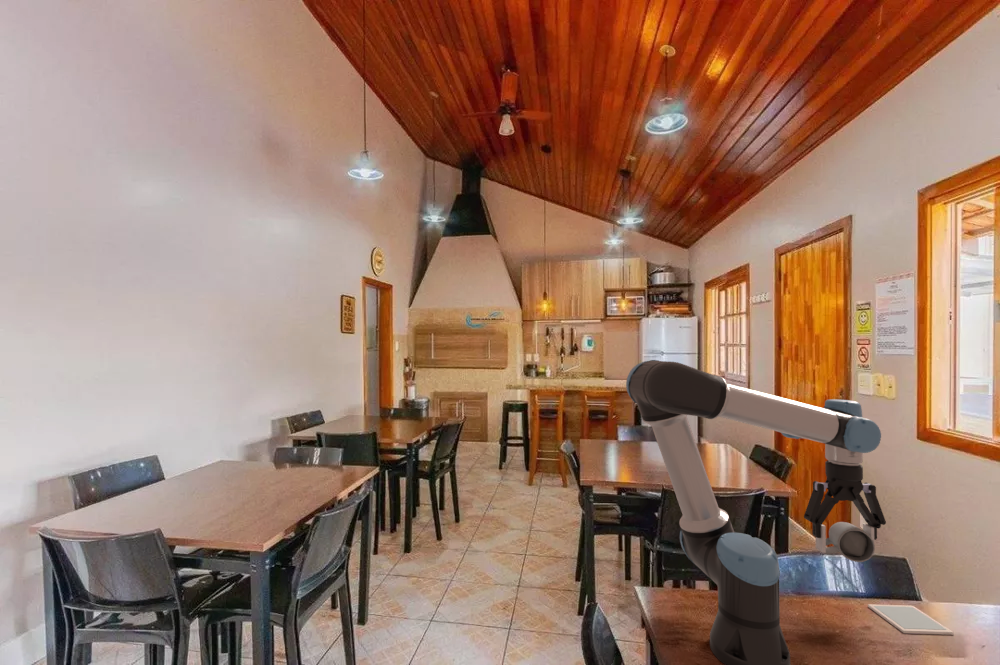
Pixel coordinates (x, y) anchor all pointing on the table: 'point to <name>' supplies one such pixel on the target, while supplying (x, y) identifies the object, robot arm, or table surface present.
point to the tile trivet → (910, 619)
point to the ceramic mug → (850, 542)
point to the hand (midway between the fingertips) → (844, 551)
